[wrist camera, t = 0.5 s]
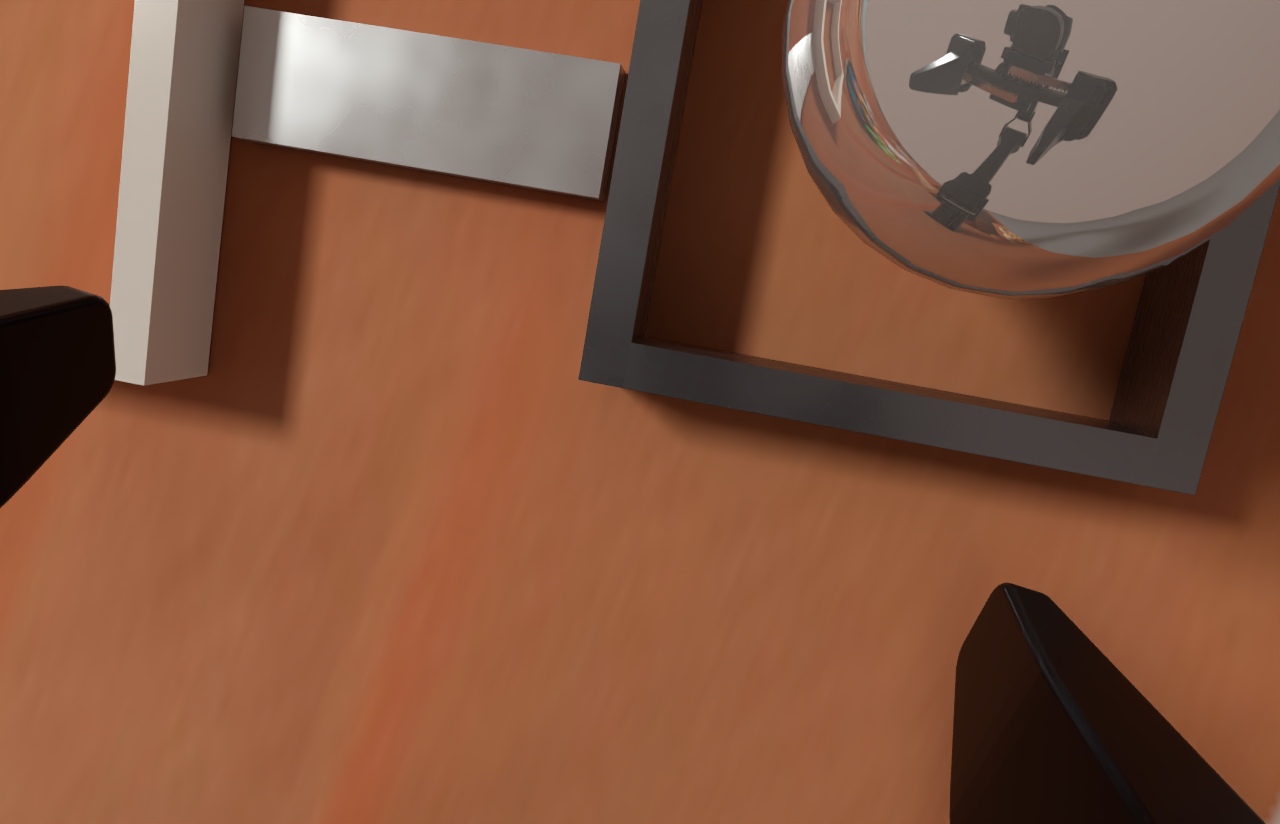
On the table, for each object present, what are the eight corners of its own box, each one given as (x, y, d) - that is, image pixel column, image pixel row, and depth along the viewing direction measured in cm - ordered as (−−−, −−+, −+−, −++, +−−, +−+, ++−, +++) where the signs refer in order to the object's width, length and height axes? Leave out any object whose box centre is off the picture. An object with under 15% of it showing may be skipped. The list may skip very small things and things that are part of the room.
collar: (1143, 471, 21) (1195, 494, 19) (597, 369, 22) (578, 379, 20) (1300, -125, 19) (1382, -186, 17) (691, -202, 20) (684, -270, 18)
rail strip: (603, 201, 22) (598, 198, 21) (249, 141, 22) (231, 136, 22) (625, 71, 21) (620, 63, 20) (262, 15, 22) (245, 5, 21)
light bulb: (1039, -66, 20) (1467, -584, 8) (1115, 243, 21) (1613, 183, 9) (732, 40, 21) (712, -282, 9) (813, 331, 22) (893, 384, 10)
